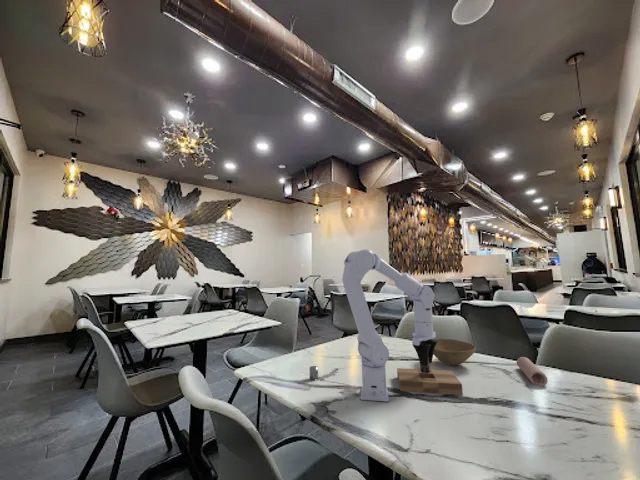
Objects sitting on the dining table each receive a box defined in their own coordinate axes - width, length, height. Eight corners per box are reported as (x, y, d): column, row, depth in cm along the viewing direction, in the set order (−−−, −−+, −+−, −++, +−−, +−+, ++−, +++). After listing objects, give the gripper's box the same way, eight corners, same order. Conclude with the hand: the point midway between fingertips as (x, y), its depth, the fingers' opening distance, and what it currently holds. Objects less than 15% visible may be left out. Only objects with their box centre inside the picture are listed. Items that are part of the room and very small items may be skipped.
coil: (548, 373, 88) (531, 357, 105) (530, 370, 90) (516, 355, 107) (548, 388, 88) (531, 370, 105) (530, 385, 90) (516, 367, 106)
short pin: (317, 381, 97) (317, 368, 97) (308, 380, 97) (308, 368, 98) (318, 377, 100) (318, 366, 100) (310, 377, 100) (310, 365, 101)
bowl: (473, 376, 98) (471, 352, 99) (420, 366, 109) (419, 345, 110) (480, 362, 113) (479, 342, 114) (433, 355, 124) (432, 336, 125)
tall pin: (428, 373, 90) (425, 347, 91) (419, 372, 92) (416, 346, 93) (431, 371, 92) (429, 345, 93) (422, 369, 94) (420, 344, 95)
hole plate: (462, 394, 84) (461, 384, 84) (400, 391, 87) (400, 380, 87) (451, 379, 95) (451, 370, 96) (397, 377, 99) (397, 368, 99)
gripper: (420, 317, 102) (423, 356, 100) (402, 323, 91) (404, 366, 90) (440, 319, 97) (443, 360, 95) (423, 325, 86) (426, 371, 85)
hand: (426, 363), depth 92 cm, fingers closed on tall pin, 3 cm apart
